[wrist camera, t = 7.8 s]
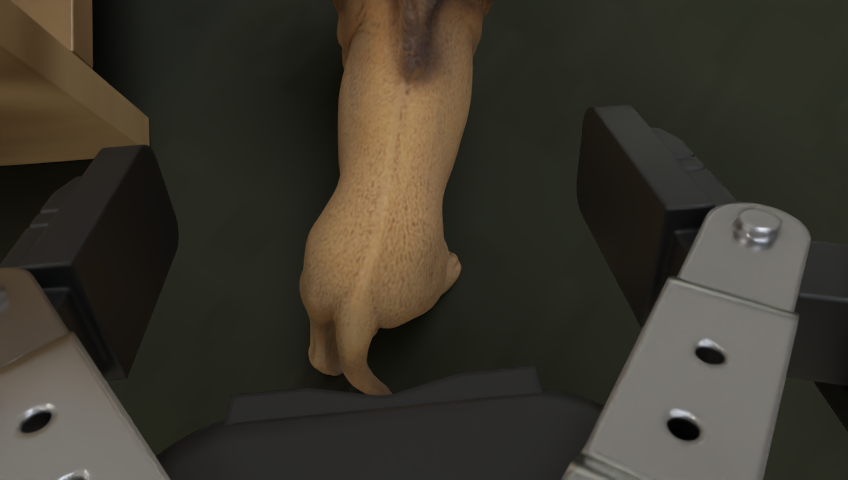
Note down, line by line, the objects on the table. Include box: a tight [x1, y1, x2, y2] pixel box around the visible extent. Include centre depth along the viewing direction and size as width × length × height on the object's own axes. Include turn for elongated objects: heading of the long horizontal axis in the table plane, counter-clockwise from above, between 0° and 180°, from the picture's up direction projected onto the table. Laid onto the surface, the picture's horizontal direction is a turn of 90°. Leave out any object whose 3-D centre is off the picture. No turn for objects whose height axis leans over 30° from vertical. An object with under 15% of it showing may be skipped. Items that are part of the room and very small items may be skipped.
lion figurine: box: [299, 0, 494, 396], centre depth 15 cm, size 15×5×9 cm, turn 3°
